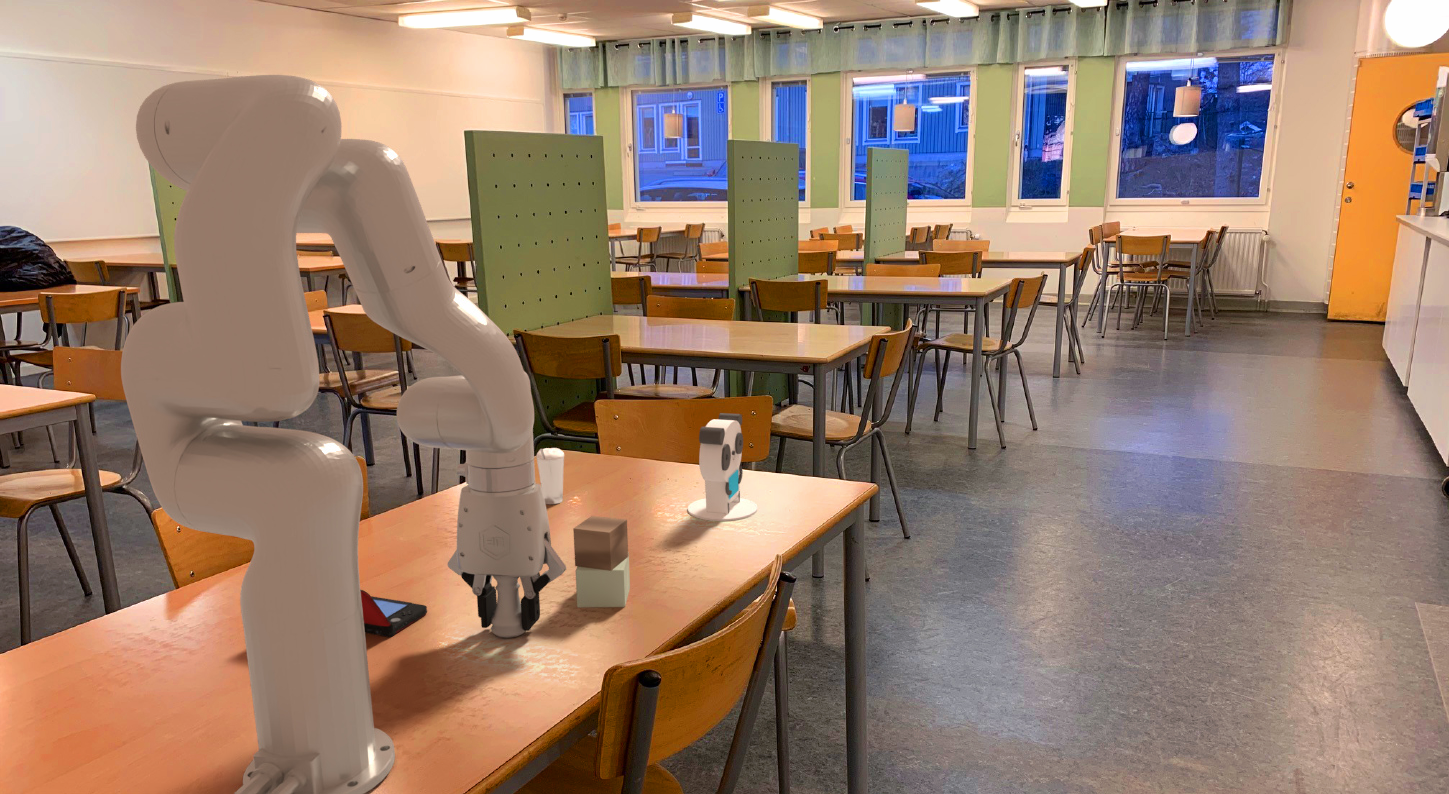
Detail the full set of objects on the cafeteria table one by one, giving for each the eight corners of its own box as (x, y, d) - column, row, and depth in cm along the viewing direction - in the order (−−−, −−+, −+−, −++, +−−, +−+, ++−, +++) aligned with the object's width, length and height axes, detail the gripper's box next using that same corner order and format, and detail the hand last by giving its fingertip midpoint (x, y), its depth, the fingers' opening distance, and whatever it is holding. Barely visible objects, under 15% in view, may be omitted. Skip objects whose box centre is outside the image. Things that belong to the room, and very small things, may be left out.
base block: (625, 607, 121) (623, 570, 120) (577, 608, 122) (575, 570, 120) (630, 588, 127) (628, 552, 126) (584, 588, 127) (582, 553, 126)
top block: (611, 570, 120) (609, 532, 119) (575, 566, 122) (573, 528, 121) (628, 556, 125) (626, 519, 124) (593, 552, 127) (591, 515, 125)
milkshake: (531, 506, 161) (528, 447, 159) (546, 496, 166) (543, 439, 164) (556, 508, 159) (553, 449, 157) (571, 498, 164) (568, 441, 162)
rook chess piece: (520, 640, 112) (516, 575, 111) (484, 637, 113) (480, 572, 112) (535, 624, 117) (532, 561, 115) (500, 621, 117) (496, 558, 116)
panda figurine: (744, 525, 150) (743, 431, 147) (676, 518, 154) (674, 426, 151) (765, 501, 161) (765, 413, 158) (701, 496, 165) (699, 410, 162)
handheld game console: (432, 614, 121) (427, 557, 119) (371, 652, 111) (365, 591, 109) (352, 600, 125) (346, 546, 124) (287, 636, 115) (280, 577, 114)
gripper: (417, 481, 109) (428, 633, 113) (560, 488, 106) (567, 643, 110) (447, 464, 116) (456, 607, 120) (582, 469, 113) (588, 616, 117)
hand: (509, 623), depth 115 cm, fingers closed on rook chess piece, 4 cm apart
